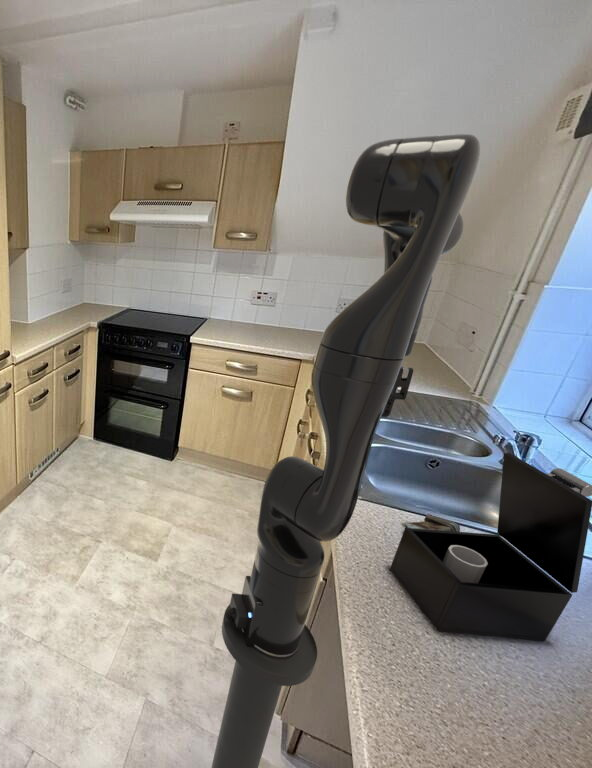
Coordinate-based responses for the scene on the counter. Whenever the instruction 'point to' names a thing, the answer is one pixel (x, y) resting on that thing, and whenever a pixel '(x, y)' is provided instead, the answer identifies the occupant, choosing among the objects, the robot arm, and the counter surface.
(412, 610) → the counter surface
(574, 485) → the black box lid
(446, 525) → the checkered cake slice
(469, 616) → the black hollow box
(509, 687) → the counter surface
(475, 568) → the cup
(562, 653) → the counter surface
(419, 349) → the counter surface
